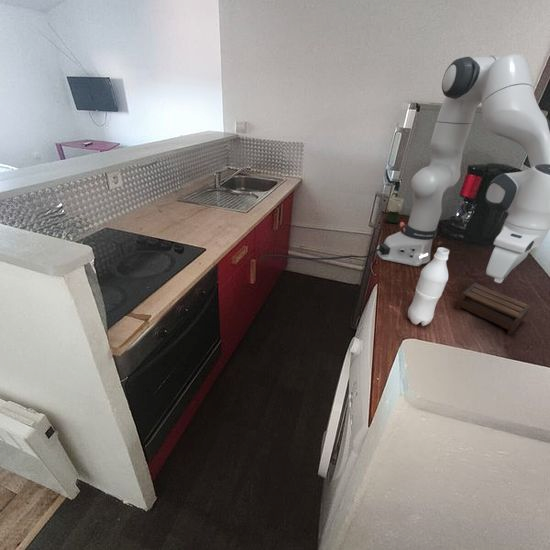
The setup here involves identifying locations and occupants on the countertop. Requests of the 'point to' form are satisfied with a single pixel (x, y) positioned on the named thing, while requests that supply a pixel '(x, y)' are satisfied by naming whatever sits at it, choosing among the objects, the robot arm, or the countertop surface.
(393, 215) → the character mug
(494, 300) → the rack
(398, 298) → the countertop surface
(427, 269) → the water bottle
